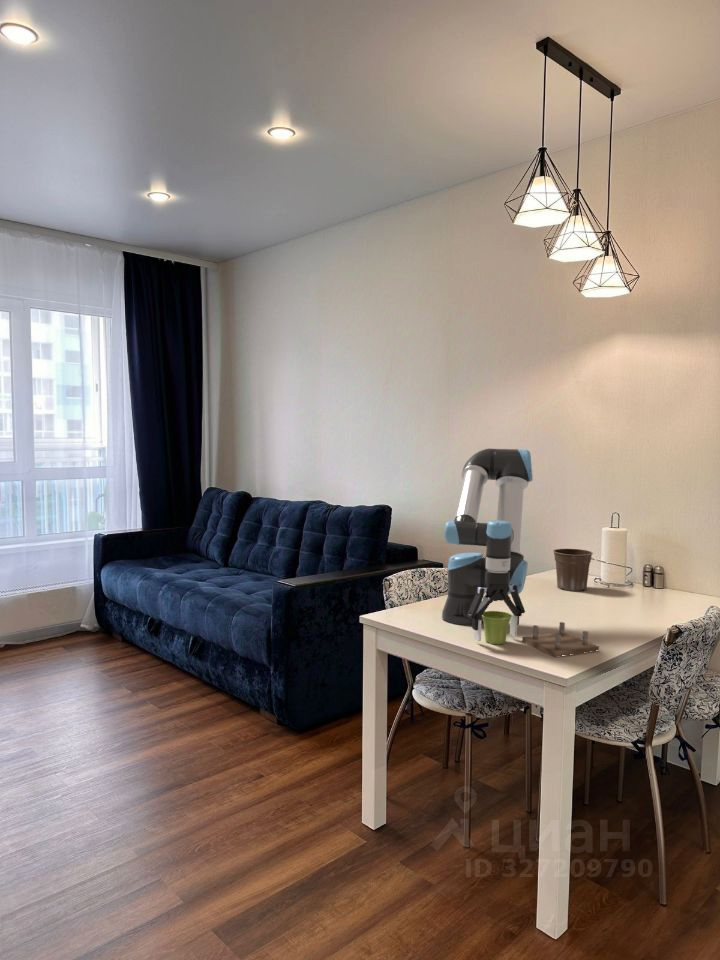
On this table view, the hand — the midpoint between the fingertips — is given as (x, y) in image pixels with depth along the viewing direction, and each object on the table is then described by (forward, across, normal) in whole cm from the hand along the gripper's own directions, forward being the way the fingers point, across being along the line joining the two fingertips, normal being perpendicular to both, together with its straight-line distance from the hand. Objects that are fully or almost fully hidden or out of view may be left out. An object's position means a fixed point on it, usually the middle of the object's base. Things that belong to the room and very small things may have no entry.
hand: (495, 637), depth 211 cm
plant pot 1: (+1, 0, 0) cm, 1 cm away
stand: (+1, +16, -11) cm, 19 cm away
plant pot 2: (+1, +77, +53) cm, 93 cm away
